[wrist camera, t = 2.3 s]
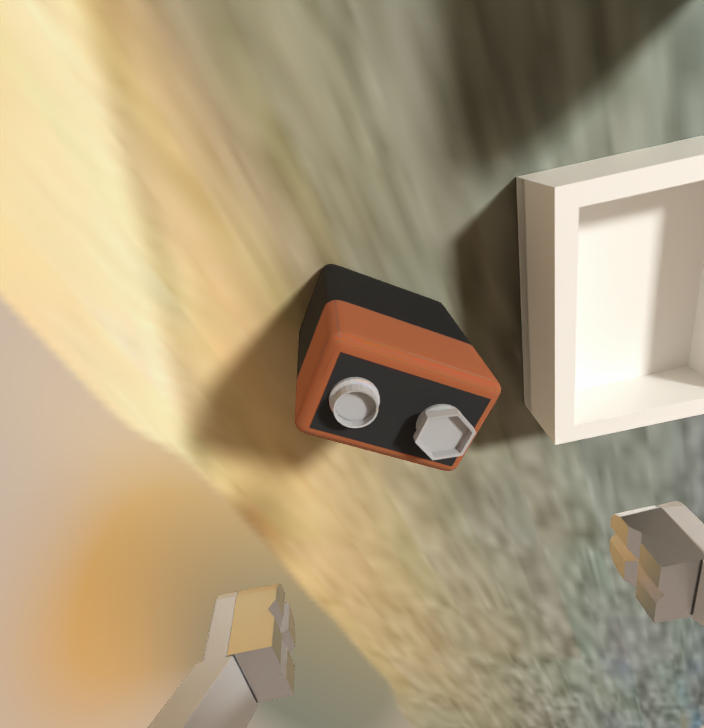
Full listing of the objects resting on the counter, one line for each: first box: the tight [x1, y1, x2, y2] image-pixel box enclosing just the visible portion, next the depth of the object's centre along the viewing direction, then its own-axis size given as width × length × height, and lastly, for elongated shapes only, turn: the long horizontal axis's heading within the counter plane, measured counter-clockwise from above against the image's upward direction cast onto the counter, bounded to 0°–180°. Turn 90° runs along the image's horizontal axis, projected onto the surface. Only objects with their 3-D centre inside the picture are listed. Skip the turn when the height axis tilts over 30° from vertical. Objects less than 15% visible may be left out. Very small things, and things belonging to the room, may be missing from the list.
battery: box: [295, 264, 501, 471], centre depth 21 cm, size 4×7×10 cm, turn 69°
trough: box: [516, 135, 704, 445], centre depth 24 cm, size 13×10×4 cm
